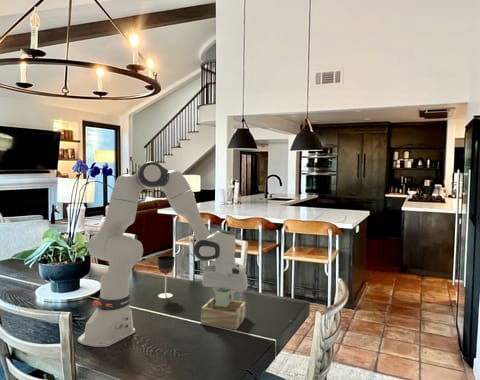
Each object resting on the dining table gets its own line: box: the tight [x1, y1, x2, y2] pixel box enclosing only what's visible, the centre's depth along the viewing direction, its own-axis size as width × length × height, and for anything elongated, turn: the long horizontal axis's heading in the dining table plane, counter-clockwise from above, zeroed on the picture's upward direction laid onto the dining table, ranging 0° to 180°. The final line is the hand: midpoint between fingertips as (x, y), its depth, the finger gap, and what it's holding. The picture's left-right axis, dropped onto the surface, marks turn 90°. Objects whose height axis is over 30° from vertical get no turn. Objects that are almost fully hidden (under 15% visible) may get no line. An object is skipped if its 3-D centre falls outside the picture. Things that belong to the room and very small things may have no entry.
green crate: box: [215, 288, 234, 307], centre depth 164 cm, size 9×5×6 cm, turn 164°
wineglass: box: [157, 255, 175, 299], centre depth 194 cm, size 8×9×20 cm
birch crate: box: [200, 297, 247, 330], centre depth 164 cm, size 14×16×7 cm
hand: (224, 298), depth 164 cm, fingers closed on green crate, 5 cm apart
